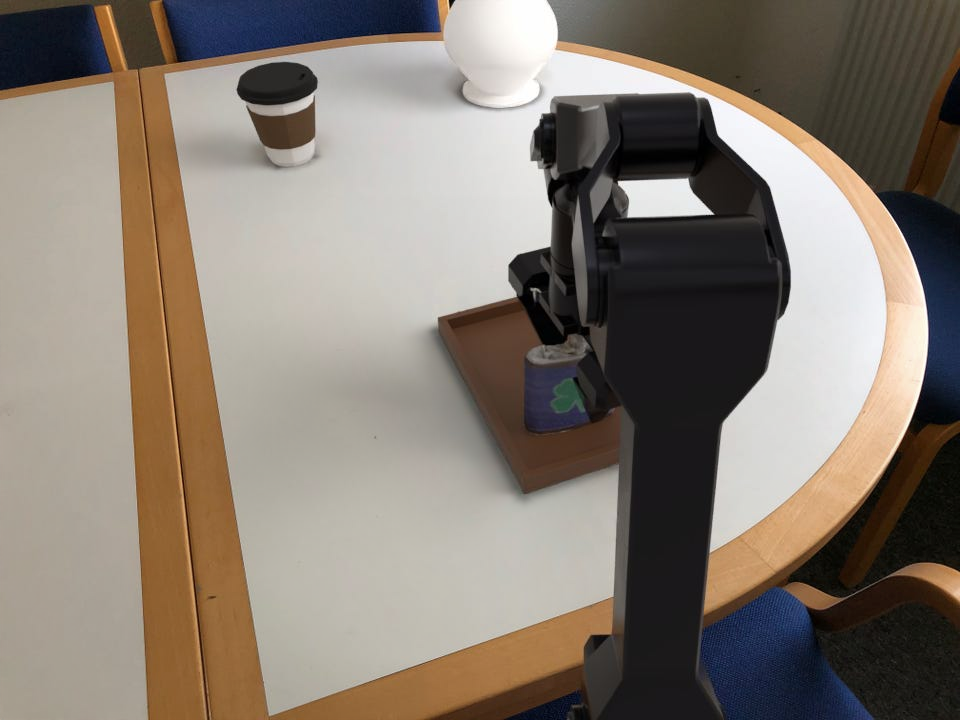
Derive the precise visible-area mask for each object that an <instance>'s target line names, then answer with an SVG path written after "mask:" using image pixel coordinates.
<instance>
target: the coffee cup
mask: <svg viewBox="0 0 960 720" xmlns="http://www.w3.org/2000/svg"><path fill="white" fill-rule="evenodd" d="M318 84H319V81H318V77H317V76H316V75H315V74H314V71H313V70H311V68H310V67H309V66H307V65H305V64H303V63H298V62H294V61H293V62H291V61H276V62H269V63H264V64H259V65H257V66H254V67H251V68H249V69H246V71H245V72H243V73H242V74H241V75H240V76H239V78H238V82H237V87H236V94H237V95H238V97H239V98H240V100H242V101H244V102H245V104H246V105H245V108H246V110H247V112H248V115H249V117H250V119H251V122H252V124H253V128H254V129H255V131H256V134H257V137H258V139H259V141H260V143H261V144H262V146H263V148H264V150H265V152H266V155H267V157H268V158H269V160H270V161H271V162H272V163H273V164H274V165H276V166H278V167H282V168H294V167H299V166H302V165H305V164H306V163H309V162H310V161H311V160H312V158H313V157H314V155H315V149H316V148H315V147H316V146H315V138H316V130H317V129H316V95H315V91H316V90H318Z"/></svg>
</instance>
